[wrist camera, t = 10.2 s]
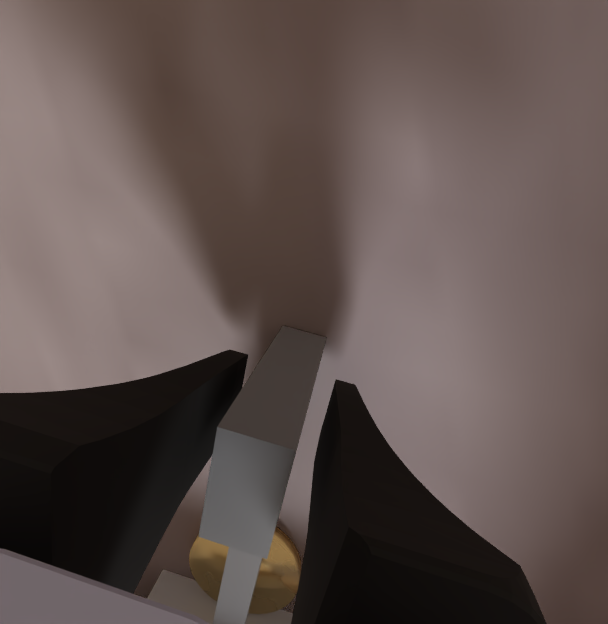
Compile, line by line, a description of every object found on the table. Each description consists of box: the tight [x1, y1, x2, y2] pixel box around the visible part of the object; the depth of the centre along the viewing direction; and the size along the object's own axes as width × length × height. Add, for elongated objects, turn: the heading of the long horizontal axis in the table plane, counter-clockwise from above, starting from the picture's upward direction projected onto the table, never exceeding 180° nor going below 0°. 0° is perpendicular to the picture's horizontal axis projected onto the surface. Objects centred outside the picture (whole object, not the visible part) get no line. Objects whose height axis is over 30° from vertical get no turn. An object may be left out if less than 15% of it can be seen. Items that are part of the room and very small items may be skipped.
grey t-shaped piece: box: [147, 326, 327, 624], centre depth 12 cm, size 8×15×6 cm, turn 167°
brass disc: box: [189, 527, 301, 614], centre depth 16 cm, size 5×5×1 cm
